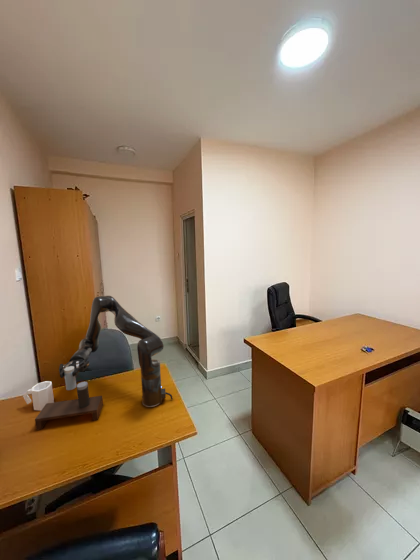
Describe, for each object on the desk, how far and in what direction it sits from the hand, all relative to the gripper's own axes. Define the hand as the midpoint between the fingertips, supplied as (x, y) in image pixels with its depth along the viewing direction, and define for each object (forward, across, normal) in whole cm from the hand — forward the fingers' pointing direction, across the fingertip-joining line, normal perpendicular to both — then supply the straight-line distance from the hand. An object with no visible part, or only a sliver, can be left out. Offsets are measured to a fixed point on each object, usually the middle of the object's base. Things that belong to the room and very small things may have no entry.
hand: (67, 375), depth 106 cm
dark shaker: (+7, +8, +12) cm, 16 cm away
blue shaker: (-3, 0, +8) cm, 8 cm away
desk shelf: (+7, +3, +17) cm, 18 cm away
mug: (-5, -16, +17) cm, 24 cm away
